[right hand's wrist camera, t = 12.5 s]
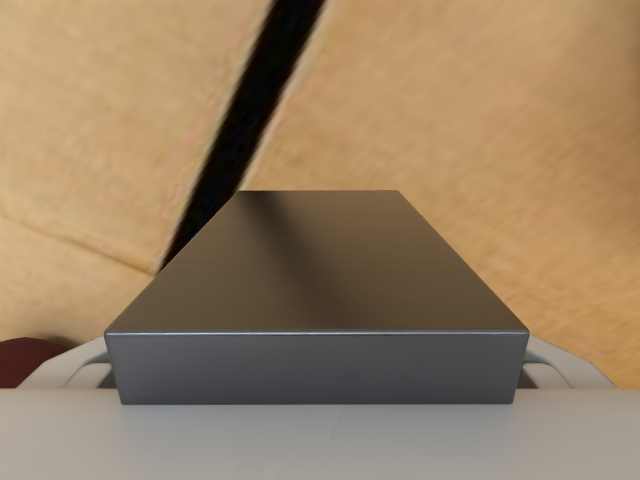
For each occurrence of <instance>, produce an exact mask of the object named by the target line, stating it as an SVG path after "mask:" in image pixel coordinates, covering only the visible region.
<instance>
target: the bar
mask: <svg viewBox="0 0 640 480" xmlns="http://www.w3.org/2000/svg"><path fill="white" fill-rule="evenodd" d="M529 336H530V334H529V330H528V328H527V327H526V326H525V325H524V324H523V323H522V322H521V321H520V320H519V319H518V318H517V317H516V316H515V314H514V313H513V312H512V311H511V310H510V309H509V308H508V307H507V306H506V305H505V304H504V303H503V302H502V301H501V300H500V298H499V297H498V296H497V295H496V294H495V293H494V292H493V291H492V290H491V289H490V288H489V287H488V286H487V285H486V284H485V283H484V281H483V280H482V279H481V278H480V277H479V276H478V275H477V274H476V273H475V272H474V271H473V270H472V269H471V268H470V267H469V265H468V264H467V263H466V262H465V261H464V260H463V259H462V258H461V257H460V256H459V255H458V254H457V253H456V252H455V251H454V249H453V248H452V247H451V246H450V245H449V244H448V243H447V242H446V241H445V240H444V239H443V238H442V237H441V236H440V235H439V233H438V232H437V231H436V230H435V229H434V228H433V227H432V226H431V225H430V224H429V223H428V222H427V221H426V220H425V219H424V218H423V216H422V215H421V214H420V213H419V212H418V211H417V210H416V209H415V208H414V207H413V206H412V205H411V204H410V203H409V202H408V200H407V199H406V198H405V197H404V196H403V195H402V194H401V193H400V192H399V191H397V190H378V191H237V193H236V194H235V195H234V196H233V197H232V198H231V199H230V200H229V201H228V202H227V203H226V204H225V205H224V206H223V207H222V208H221V209H220V210H219V211H218V212H217V213H216V215H215V216H214V217H213V218H212V219H211V220H210V221H209V222H208V223H207V224H206V225H205V226H204V227H203V228H202V229H201V230H200V231H199V232H198V233H197V234H196V235H195V237H194V238H193V239H192V240H191V241H190V242H189V243H188V244H187V245H186V246H185V247H184V248H183V249H182V250H181V251H180V252H179V253H178V254H177V255H176V256H175V257H174V259H173V260H172V261H171V262H170V263H169V264H168V265H167V266H166V267H165V268H164V269H163V270H162V271H161V272H160V273H159V274H158V275H157V276H156V277H155V278H154V279H153V281H152V282H151V283H150V284H149V285H148V286H147V287H146V288H145V289H144V290H143V291H142V292H141V293H140V294H139V295H138V296H137V297H136V298H135V299H134V300H133V301H132V303H131V304H130V305H129V306H128V307H127V308H126V309H125V310H124V311H123V312H122V313H121V314H120V315H119V316H118V317H117V318H116V319H115V320H114V321H113V322H112V323H111V325H110V326H109V327H108V328H107V329H106V330H105V332H104V340H105V344H106V347H107V351H108V355H109V359H110V363H111V367H112V370H113V374H114V378H115V382H116V386H117V390H118V394H119V397H120V401H121V404H123V405H439V404H512V403H513V400H514V396H515V392H516V388H517V384H518V380H519V376H520V372H521V368H522V364H523V360H524V356H525V352H526V348H527V344H528V340H529Z"/></svg>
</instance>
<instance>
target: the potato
mask: <svg viewBox="0 0 640 480" xmlns="http://www.w3.org/2000/svg"><path fill="white" fill-rule="evenodd" d="M65 352H67V351H65V350H64V349H63V348H61V347H60V346H59V345H56V344H54V343H52V342H49V341H45V340H41V339H34V338H27V337H24V338H16V339H10V340H6V341H2V342H0V389H16V388H17V387H18V386H19V385H20V384H21V383H22V382H23V381H24V380H25V379H26V378H28V377H29V376H30V375H31V374H32V373H33V372H34V371H35V370H36V369H37V368H38V367H39V366H41V365H42V364H43V363H44V362H45V361H47V360H49V359H52V358H54V357H56V356H58V355H60V354H63V353H65Z"/></svg>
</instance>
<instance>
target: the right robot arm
mask: <svg viewBox="0 0 640 480" xmlns="http://www.w3.org/2000/svg"><path fill="white" fill-rule="evenodd" d="M0 480H640V389H619V388H618V387H617V386H616V385H615V384H614V383H613V382H612V381H611V380H610V379H608V378H607V377H606V376H605V375H604V374H603V373H602V372H601V371H600V370H599V369H598V368H597V367H596V366H595V365H594V364H593V363H592V362H590V361H588V360H585V359H583V358H581V357H579V356H577V355H575V354H572V353H570V352H568V351H566V350H564V349H562V348H559V347H557V346H555V345H553V344H551V343H549V342H546V341H544V340H542V339H540V338H538V337H536V336H534V335H531V334H530V336H529V340H528V344H527V348H526V352H525V356H524V360H523V364H522V368H521V372H520V376H519V380H518V384H517V388H516V392H515V396H514V400H513V403H512V404H439V405H123V404H121V401H120V397H119V394H118V390H117V386H116V382H115V378H114V374H113V370H112V367H111V363H110V359H109V355H108V351H107V347H106V344H105V340H104V335H102V336H100V337H98V338H95V339H93V340H91V341H89V342H87V343H85V344H82V345H80V346H78V347H76V348H74V349H71V350H69V351H67V352H65V353H63V354H60V355H58V356H56V357H54V358H52V359H49V360H47V361H45V362H44V363H43V364H42V365H41V366H39V367H38V368H37V369H36V370H35V371H34V372H33V373H32V374H31V375H30V376H29V377H28V378H26V379H25V380H24V381H23V382H22V383H21V384H20V385H19V386H18V387H17V388H16V389H0Z"/></svg>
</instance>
